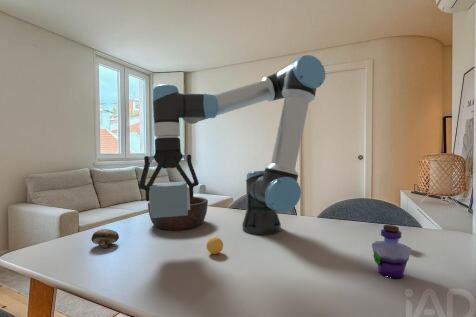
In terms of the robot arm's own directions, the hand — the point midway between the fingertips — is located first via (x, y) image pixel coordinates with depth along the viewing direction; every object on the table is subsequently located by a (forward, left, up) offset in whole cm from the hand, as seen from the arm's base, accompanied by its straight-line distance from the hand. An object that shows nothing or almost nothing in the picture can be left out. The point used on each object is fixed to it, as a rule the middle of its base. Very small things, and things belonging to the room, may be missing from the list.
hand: (170, 210), depth 82 cm
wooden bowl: (0, -33, -13) cm, 36 cm away
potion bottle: (-55, +25, -13) cm, 62 cm away
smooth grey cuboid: (0, 0, -1) cm, 1 cm away
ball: (-13, +4, -10) cm, 17 cm away
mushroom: (+22, -9, -13) cm, 27 cm away
